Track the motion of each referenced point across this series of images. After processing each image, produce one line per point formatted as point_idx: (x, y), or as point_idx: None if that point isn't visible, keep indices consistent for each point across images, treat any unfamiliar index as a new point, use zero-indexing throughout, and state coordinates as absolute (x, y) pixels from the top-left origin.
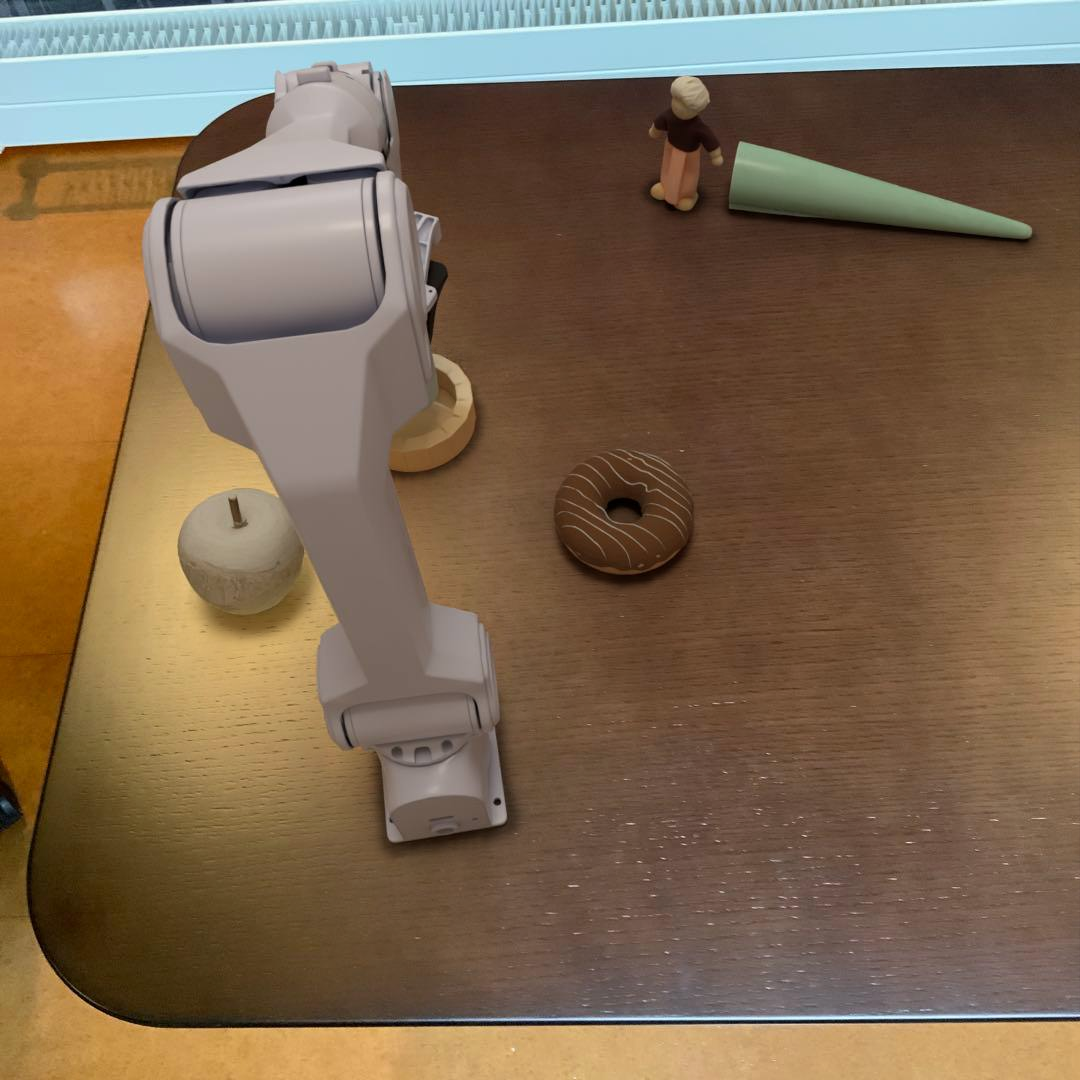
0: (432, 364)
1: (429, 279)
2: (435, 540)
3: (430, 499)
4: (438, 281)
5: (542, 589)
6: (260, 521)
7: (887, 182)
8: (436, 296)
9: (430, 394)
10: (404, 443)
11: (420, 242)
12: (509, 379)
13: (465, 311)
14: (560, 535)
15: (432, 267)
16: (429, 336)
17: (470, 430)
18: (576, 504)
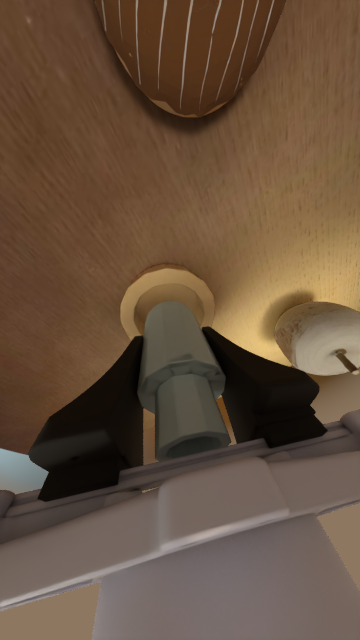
0: (163, 321)
1: (93, 448)
2: (249, 241)
3: (219, 263)
4: (82, 440)
5: (283, 100)
6: (344, 344)
7: None
8: (184, 500)
9: (175, 305)
10: (206, 300)
11: (13, 603)
12: (94, 265)
13: (66, 328)
14: (256, 67)
15: (59, 460)
16: (138, 344)
17: (161, 265)
18: (240, 8)
